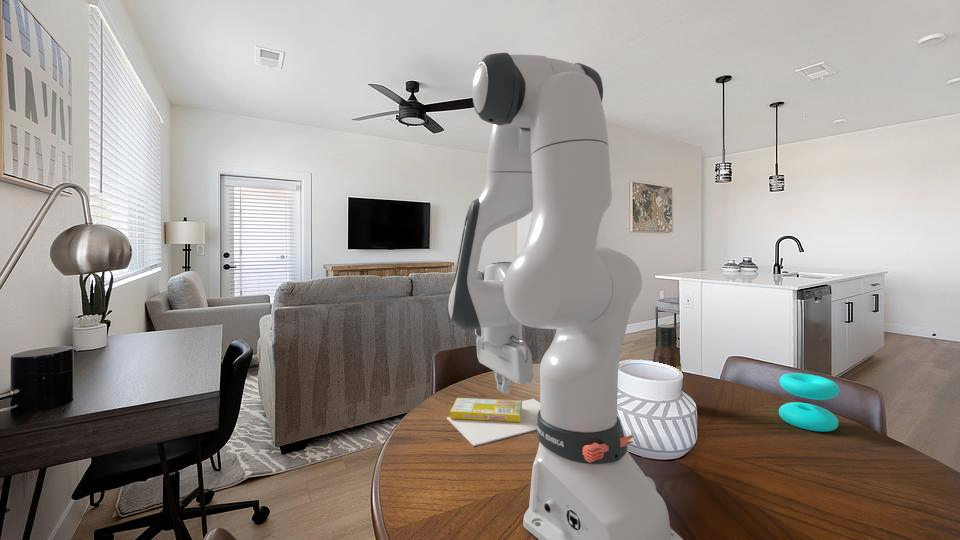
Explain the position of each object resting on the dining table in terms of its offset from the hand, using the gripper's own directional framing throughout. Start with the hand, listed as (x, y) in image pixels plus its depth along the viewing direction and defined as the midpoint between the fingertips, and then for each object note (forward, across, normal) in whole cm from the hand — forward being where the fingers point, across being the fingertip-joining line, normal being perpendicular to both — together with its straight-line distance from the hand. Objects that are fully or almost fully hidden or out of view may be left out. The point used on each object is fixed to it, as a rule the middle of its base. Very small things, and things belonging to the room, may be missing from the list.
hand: (503, 391), depth 90 cm
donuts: (+6, -34, -57) cm, 67 cm away
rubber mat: (+6, -2, 0) cm, 6 cm away
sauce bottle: (+6, -13, -39) cm, 42 cm away
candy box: (+5, +6, 0) cm, 8 cm away
